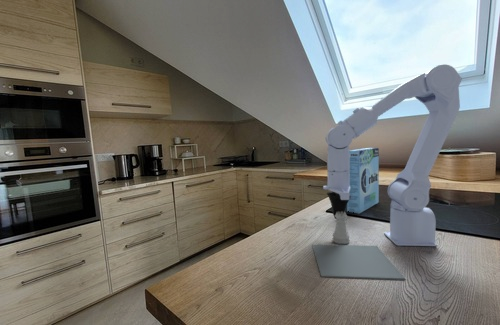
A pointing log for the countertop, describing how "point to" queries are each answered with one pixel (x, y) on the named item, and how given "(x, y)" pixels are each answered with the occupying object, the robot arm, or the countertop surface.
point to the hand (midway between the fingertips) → (338, 218)
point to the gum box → (363, 179)
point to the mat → (354, 262)
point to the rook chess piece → (341, 229)
